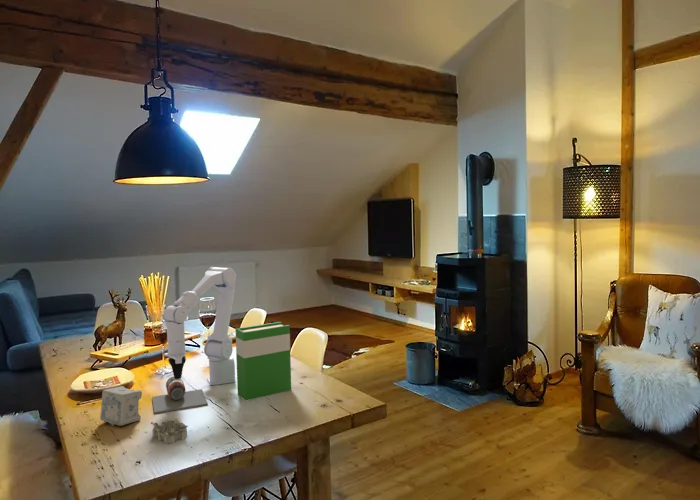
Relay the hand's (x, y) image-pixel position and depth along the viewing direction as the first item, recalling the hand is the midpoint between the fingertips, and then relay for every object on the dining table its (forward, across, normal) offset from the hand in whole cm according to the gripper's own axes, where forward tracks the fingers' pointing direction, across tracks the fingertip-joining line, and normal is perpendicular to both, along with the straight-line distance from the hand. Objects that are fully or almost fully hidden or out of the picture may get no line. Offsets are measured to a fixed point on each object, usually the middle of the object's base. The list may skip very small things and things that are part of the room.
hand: (177, 378), depth 175 cm
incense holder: (+8, +12, -18) cm, 23 cm away
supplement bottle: (+4, -6, -1) cm, 7 cm away
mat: (+7, +3, 0) cm, 8 cm away
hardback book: (+8, +7, +29) cm, 31 cm away
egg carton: (+8, +29, -5) cm, 31 cm away
